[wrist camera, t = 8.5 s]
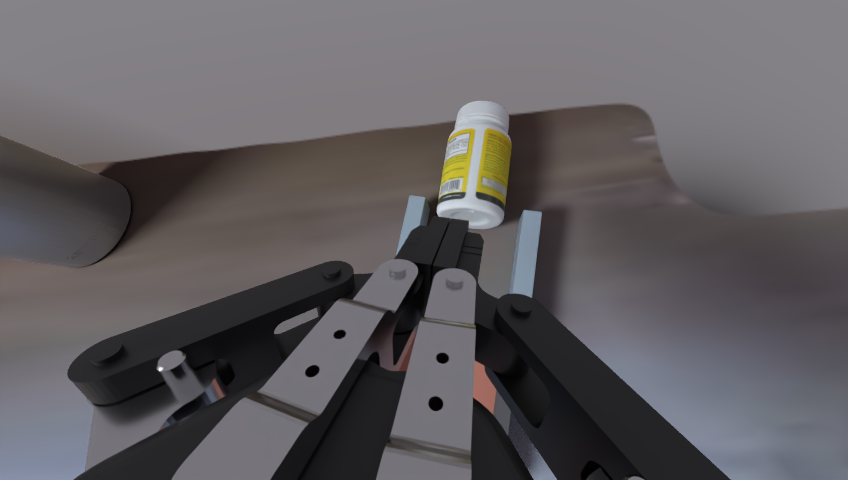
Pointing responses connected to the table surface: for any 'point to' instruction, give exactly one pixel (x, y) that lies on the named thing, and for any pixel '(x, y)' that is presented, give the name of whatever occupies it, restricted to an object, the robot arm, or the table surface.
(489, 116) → the supplement bottle
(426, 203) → the trough
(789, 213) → the table surface
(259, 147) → the table surface
